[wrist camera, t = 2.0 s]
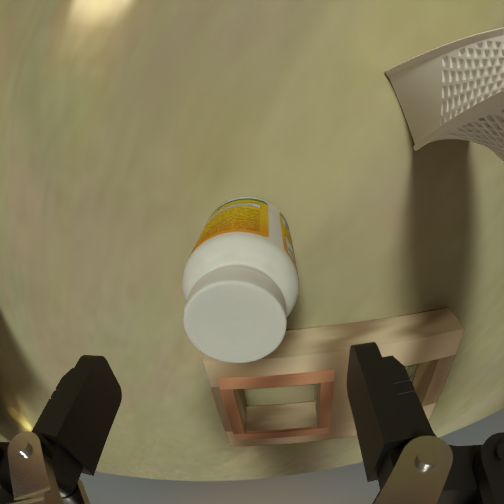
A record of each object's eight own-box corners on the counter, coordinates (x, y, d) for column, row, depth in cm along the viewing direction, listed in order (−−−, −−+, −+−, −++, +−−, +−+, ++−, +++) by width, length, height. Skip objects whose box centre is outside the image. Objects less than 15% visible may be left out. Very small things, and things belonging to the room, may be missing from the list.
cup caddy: (448, 307, 23) (466, 330, 20) (420, 398, 27) (430, 420, 24) (208, 335, 24) (202, 364, 21) (232, 422, 29) (230, 448, 26)
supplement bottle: (306, 229, 20) (335, 319, 12) (254, 285, 22) (248, 392, 13) (239, 176, 19) (218, 234, 10) (190, 240, 21) (143, 331, 12)
